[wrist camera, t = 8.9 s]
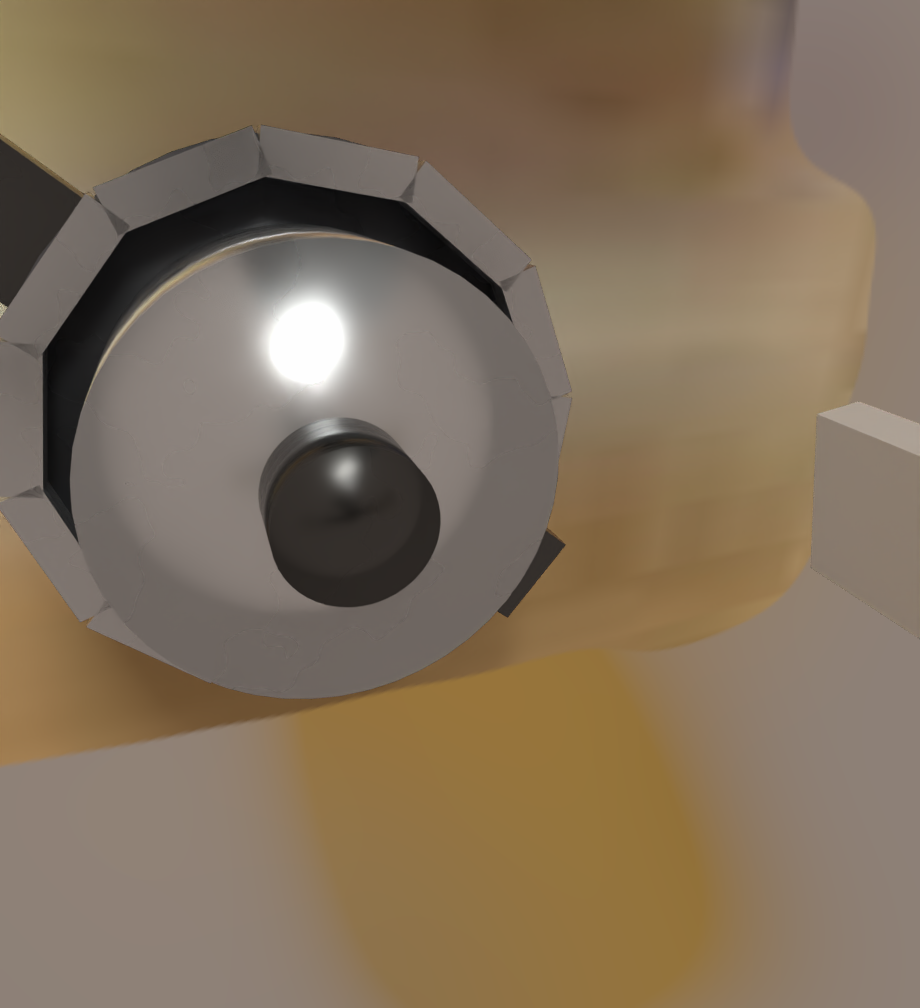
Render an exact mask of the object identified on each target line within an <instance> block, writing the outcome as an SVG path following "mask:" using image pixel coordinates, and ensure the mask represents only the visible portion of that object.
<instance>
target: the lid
mask: <svg viewBox="0 0 920 1008" xmlns="http://www.w3.org/2000/svg"><path fill="white" fill-rule="evenodd" d="M558 459H559V445H558V435H557V424H556V418H555V414H554V409H553V405H552V401H551V397H550V393H549V390H548V387H547V385H546V382H545V379H544V377H543V374H542V372H541V369H540V366H539V365H538V363H537V361H536V359H535V357H534V355H533V354H532V352H531V350H530V348H529V346H528V345H527V343H526V341H525V340H524V338H523V337H522V336H521V334H520V333H519V332H518V330H517V329H516V327H515V326H514V325H513V323H512V322H511V321H510V319H509V318H508V317H507V316H506V315H505V314H504V313H503V312H502V311H501V310H500V309H499V308H498V307H497V306H496V305H495V304H494V303H493V302H492V301H491V300H490V299H489V298H488V297H487V296H486V295H485V294H484V293H482V292H481V291H480V290H478V289H477V288H476V287H474V286H473V285H472V284H471V283H469V282H468V281H467V280H465V279H464V278H463V277H461V276H459V275H458V274H456V273H454V272H452V271H450V270H449V269H447V268H445V267H443V266H442V265H440V264H438V263H436V262H434V261H432V260H430V259H427V258H424V257H422V256H419V255H417V254H414V253H412V252H409V251H406V250H404V249H401V248H398V247H395V246H392V245H389V244H386V243H383V242H380V241H377V240H374V239H371V238H368V237H365V236H362V235H359V234H356V233H353V232H349V231H345V230H341V229H336V228H332V227H328V226H319V225H309V224H276V225H266V226H260V227H255V228H249V229H244V230H240V231H237V232H234V233H231V234H228V235H225V236H222V237H219V238H215V239H213V240H211V241H209V242H207V243H205V244H203V245H201V246H199V247H197V248H195V249H193V250H191V251H189V252H187V253H185V254H184V255H183V256H181V257H180V258H178V259H177V260H175V261H174V262H172V263H171V264H169V265H168V266H166V267H165V268H164V269H163V270H161V271H160V272H159V273H158V274H157V275H156V276H155V277H154V278H153V279H152V280H151V281H149V282H148V283H147V284H146V285H145V286H144V287H143V288H142V289H141V290H140V292H139V293H138V294H137V295H136V296H135V298H134V299H133V300H132V301H131V303H130V304H129V305H128V306H127V307H126V309H125V310H124V312H123V313H122V315H121V317H120V318H119V320H118V322H117V323H116V325H115V327H114V328H113V330H112V332H111V333H110V335H109V338H108V340H107V343H106V345H105V347H104V350H103V352H102V355H101V357H100V360H99V362H98V365H97V368H96V371H95V374H94V376H93V379H92V382H91V385H90V388H89V391H88V394H87V396H86V399H85V402H84V405H83V408H82V411H81V414H80V418H79V422H78V426H77V430H76V434H75V438H74V443H73V447H72V459H71V471H70V492H71V506H72V515H73V520H74V524H75V529H76V533H77V537H78V542H79V545H80V548H81V551H82V553H83V556H84V558H85V561H86V563H87V566H88V568H89V571H90V573H91V575H92V577H93V579H94V580H95V582H96V584H97V586H98V587H99V589H100V591H101V593H102V594H103V596H104V598H105V599H106V601H107V602H108V604H109V605H110V606H111V607H112V609H113V610H114V611H115V612H116V614H117V615H118V616H119V618H120V619H121V620H122V621H123V623H124V624H125V625H126V626H127V627H128V628H129V629H130V630H131V631H132V632H133V633H134V634H135V635H137V636H138V637H139V638H140V639H141V640H142V641H143V642H144V643H145V644H146V645H147V646H148V647H150V648H151V649H153V650H154V651H155V652H157V653H158V654H160V655H161V656H162V657H164V658H165V659H166V660H168V661H169V662H171V663H172V664H174V665H176V666H178V667H180V668H181V669H183V670H185V671H187V672H189V673H191V674H193V675H195V676H196V677H198V678H201V679H204V680H206V681H209V682H212V683H214V684H217V685H219V686H222V687H225V688H228V689H232V690H236V691H240V692H244V693H248V694H253V695H259V696H267V697H275V698H283V699H315V698H325V697H335V696H343V695H348V694H352V693H357V692H362V691H366V690H370V689H373V688H376V687H380V686H383V685H386V684H389V683H392V682H395V681H397V680H400V679H402V678H404V677H406V676H408V675H411V674H413V673H415V672H417V671H420V670H422V669H423V668H425V667H427V666H429V665H430V664H432V663H434V662H436V661H437V660H439V659H441V658H442V657H444V656H446V655H447V654H449V653H450V652H451V651H453V650H454V649H455V648H457V647H458V646H460V645H461V644H462V643H464V642H465V641H466V640H468V639H469V638H470V637H471V636H472V635H473V634H474V633H476V632H477V631H478V630H479V629H480V628H481V627H482V626H483V625H484V624H485V623H487V622H488V621H489V620H490V619H491V617H492V616H493V615H494V614H495V613H496V612H497V611H498V610H499V608H500V607H501V606H502V605H503V604H504V603H505V602H506V601H507V599H508V598H509V596H510V595H511V594H512V592H513V591H514V589H515V588H516V587H517V585H518V584H519V582H520V581H521V580H522V578H523V576H524V575H525V573H526V571H527V569H528V567H529V566H530V564H531V562H532V560H533V558H534V557H535V555H536V553H537V550H538V548H539V545H540V543H541V541H542V538H543V536H544V533H545V531H546V528H547V525H548V521H549V518H550V514H551V511H552V507H553V504H554V498H555V492H556V485H557V479H558Z"/></svg>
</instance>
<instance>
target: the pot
mask: <svg viewBox="0 0 920 1008" xmlns="http://www.w3.org/2000/svg"><path fill="white" fill-rule="evenodd" d="M418 159H419V157H417V156H412V155H408V154H403V153H398V152H393V151H388V150H383V149H378V148H373V147H368V146H365V145H361V144H358V143H354V142H350V141H347V140H343V139H340V138H335V137H328V136H320V135H313V134H305V133H299V132H295V131H290V130H285V129H280V128H275V127H270V126H265V125H259V126H257V133H255V132H254V129H253V127H252V125H251V126H249V127H246V128H244V129H241V130H239V131H236V132H234V133H231V134H228V135H226V136H223V137H221V138H216V139H211V140H208V141H204V142H201V143H198V144H195V145H191V146H188V147H185V148H182V149H178V150H175V151H172V152H170V153H167V154H165V155H163V156H161V157H159V158H157V159H155V160H153V161H151V162H149V163H146V164H144V165H142V166H140V167H138V168H136V169H134V170H132V171H130V172H129V173H127V174H126V175H123V176H121V177H118V178H116V179H113V180H111V181H108V182H105V183H103V184H100V185H98V186H95V187H93V189H94V191H95V193H96V195H95V196H93V195H92V194H90V193H89V192H88V193H85V194H83V193H82V192H80V191H79V190H78V189H76V188H75V187H73V186H72V185H71V184H69V183H68V182H67V181H65V180H64V179H62V178H61V177H60V176H58V175H57V174H55V173H54V172H53V171H51V170H50V169H48V168H47V167H46V166H44V165H43V164H42V163H40V162H39V161H37V160H36V159H35V158H33V157H32V156H30V155H29V154H28V153H26V152H25V151H24V150H22V149H21V148H19V147H18V146H17V145H15V144H14V143H12V142H11V141H10V140H8V139H7V138H5V137H4V136H3V135H1V134H0V302H1V303H2V304H4V305H5V306H7V307H8V308H7V310H6V311H5V313H4V314H3V315H2V317H1V318H0V511H1V512H2V513H3V515H4V516H5V518H6V519H7V520H8V522H9V523H10V525H11V526H12V527H13V529H14V530H15V532H16V533H17V534H18V536H19V537H20V539H21V540H22V541H23V543H24V544H25V546H26V547H27V548H28V550H29V551H30V553H31V554H32V555H33V557H34V558H35V560H36V561H37V562H38V564H39V565H40V567H41V568H42V569H43V571H44V572H45V574H46V575H47V576H48V578H49V579H50V581H51V582H52V583H53V585H54V586H55V588H56V589H57V590H58V592H59V593H60V595H61V596H62V598H63V599H64V600H65V602H66V603H67V605H68V606H69V607H70V609H71V610H72V612H73V613H74V614H75V616H76V617H77V619H78V620H79V621H80V622H82V621H84V620H86V619H88V620H87V626H86V627H87V628H89V629H91V630H94V631H96V632H98V633H100V634H102V635H105V636H107V637H109V638H111V639H114V640H116V641H118V642H120V643H122V644H125V645H127V646H129V647H131V648H133V649H136V650H138V651H140V652H142V653H144V654H147V655H149V656H151V657H153V658H155V659H158V660H160V661H162V662H164V663H166V664H169V665H171V666H173V667H175V668H177V669H180V670H182V671H184V672H186V673H188V674H191V673H189V672H187V671H185V670H183V669H181V668H180V667H178V666H176V665H174V664H172V663H171V662H169V661H168V660H166V659H165V658H164V657H162V656H161V655H160V654H158V653H157V652H155V651H154V650H153V649H151V648H150V647H148V646H147V645H146V644H145V643H144V642H143V641H142V640H141V639H140V638H139V637H138V636H137V635H135V634H134V633H133V632H132V631H131V630H130V629H129V628H128V627H127V626H126V625H125V624H124V623H123V621H122V620H121V619H120V618H119V616H118V615H117V614H116V612H115V611H114V610H113V609H112V607H111V606H110V605H109V604H108V602H107V601H106V599H105V598H104V596H103V594H102V593H101V591H100V589H99V587H98V586H97V584H96V582H95V580H94V579H93V577H92V575H91V573H90V571H89V568H88V566H87V563H86V561H85V558H84V556H83V553H82V551H81V548H80V545H79V542H78V537H77V533H76V529H75V524H74V520H73V515H72V506H71V492H70V471H71V459H72V447H73V443H74V438H75V434H76V430H77V426H78V422H79V418H80V414H81V411H82V408H83V405H84V402H85V399H86V396H87V394H88V391H89V388H90V385H91V382H92V379H93V376H94V374H95V371H96V368H97V365H98V362H99V360H100V357H101V355H102V352H103V350H104V347H105V345H106V343H107V340H108V338H109V335H110V333H111V332H112V330H113V328H114V327H115V325H116V323H117V322H118V320H119V318H120V317H121V315H122V313H123V312H124V310H125V309H126V307H127V306H128V305H129V304H130V303H131V301H132V300H133V299H134V298H135V296H136V295H137V294H138V293H139V292H140V290H141V289H142V288H143V287H144V286H145V285H146V284H147V283H148V282H149V281H151V280H152V279H153V278H154V277H155V276H156V275H157V274H158V273H159V272H160V271H161V270H163V269H164V268H165V267H166V266H168V265H169V264H171V263H172V262H174V261H175V260H177V259H178V258H180V257H181V256H183V255H184V254H185V253H187V252H189V251H191V250H193V249H195V248H197V247H199V246H201V245H203V244H205V243H207V242H209V241H211V240H213V239H215V238H219V237H222V236H225V235H228V234H231V233H234V232H237V231H240V230H244V229H249V228H255V227H260V226H266V225H276V224H309V225H319V226H328V227H332V228H336V229H341V230H345V231H349V232H353V233H356V234H359V235H362V236H365V237H368V238H371V239H374V240H377V241H380V242H383V243H386V244H389V245H392V246H395V247H398V248H401V249H404V250H406V251H409V252H412V253H414V254H417V255H419V256H422V257H424V258H427V259H430V260H432V261H434V262H436V263H438V264H440V265H442V266H443V267H445V268H447V269H449V270H450V271H452V272H454V273H456V274H458V275H459V276H461V277H463V278H464V279H465V280H467V281H468V282H469V283H471V284H472V285H473V286H474V287H476V288H477V289H478V290H480V291H481V292H482V293H484V294H485V295H486V296H487V297H488V298H489V299H490V300H491V301H492V302H493V303H494V304H495V305H496V306H497V307H498V308H499V309H500V310H501V311H502V312H503V313H504V314H505V315H506V316H507V317H508V318H509V319H510V321H511V322H512V323H513V325H514V326H515V327H516V329H517V330H518V332H519V333H520V334H521V336H522V337H523V338H524V340H525V341H526V343H527V345H528V346H529V348H530V350H531V352H532V354H533V355H534V357H535V359H536V361H537V363H538V365H539V366H540V369H541V372H542V374H543V377H544V379H545V382H546V385H547V387H548V390H549V393H550V397H551V401H552V405H553V409H554V414H555V418H556V424H557V435H558V445H559V456H560V452H561V447H562V443H563V438H564V433H565V429H566V424H567V419H568V415H569V410H570V405H571V401H572V398H571V397H569V396H568V395H566V394H567V393H569V392H571V391H572V390H571V386H570V383H569V379H568V376H567V373H566V369H565V366H564V362H563V359H562V355H561V352H560V349H559V345H558V342H557V338H556V335H555V332H554V328H553V325H552V321H551V318H550V314H549V311H548V308H547V304H546V301H545V297H544V294H543V290H542V287H541V284H540V280H539V277H538V273H537V270H536V267H535V266H533V265H529V262H530V261H531V259H530V258H529V257H528V256H527V255H526V254H525V253H524V252H523V251H522V250H521V249H520V248H519V247H517V246H516V245H515V244H514V243H513V242H512V241H511V240H510V239H509V238H508V237H507V236H506V235H505V234H504V233H503V232H502V231H500V230H499V229H498V228H497V227H496V226H495V225H494V224H493V223H492V222H491V221H490V220H489V219H488V218H487V217H486V216H484V215H483V214H482V213H481V212H480V211H479V210H478V209H477V208H476V207H475V206H474V205H473V204H472V203H471V202H470V201H469V200H467V199H466V198H465V197H464V196H463V195H462V194H461V193H460V192H459V191H458V190H457V189H456V188H455V187H454V186H453V185H452V184H450V183H449V182H448V181H447V180H446V179H445V178H444V177H443V176H442V175H441V174H440V173H439V172H438V171H437V170H436V169H434V168H433V167H432V166H431V165H430V164H429V163H428V162H427V161H418ZM558 461H559V459H558ZM565 545H566V544H564V543H563V542H562V541H561V540H560V539H559V538H558V537H557V536H556V535H555V534H554V533H553V532H552V531H551V530H550V529H548V528H546V531H545V533H544V536H543V538H542V541H541V543H540V545H539V548H538V550H537V553H536V555H535V557H534V558H533V560H532V562H531V564H530V566H529V567H528V569H527V571H526V573H525V575H524V576H523V578H522V580H521V581H520V582H519V584H518V585H517V587H516V588H515V589H514V591H513V592H512V594H511V595H510V596H509V598H508V599H507V601H506V602H505V603H504V604H503V605H502V606H501V607H500V608H499V610H498V612H499V613H501V614H502V615H504V616H506V617H507V618H508V616H509V615H510V614H511V613H512V611H513V610H514V609H515V608H516V606H517V605H518V604H519V603H520V601H521V600H522V599H523V598H524V596H525V595H526V594H527V593H528V591H529V590H530V589H531V588H532V586H533V585H534V584H535V583H536V581H537V580H538V579H539V578H540V576H541V575H542V574H543V573H544V571H545V570H546V569H547V568H548V566H549V565H550V564H551V563H552V561H553V560H554V559H555V558H556V556H557V555H558V554H559V553H560V551H561V550H562V549H563V548H564V546H565ZM191 675H193V674H191ZM193 676H195V675H193ZM195 677H196V676H195ZM197 678H198V677H197ZM199 679H201V678H199ZM202 680H204V679H202ZM204 681H206V680H204ZM206 682H208V683H210V684H211V682H209V681H206Z"/></svg>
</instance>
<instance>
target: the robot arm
mask: <svg viewBox="0 0 920 1008" xmlns="http://www.w3.org/2000/svg"><path fill="white" fill-rule="evenodd" d="M811 568H812V569H813V570H815V571H816V572H818V573H819V574H821V575H823V576H824V577H826V578H827V579H829V580H830V581H832V582H833V583H835V584H836V585H838V586H839V587H841V588H842V589H844V590H845V591H847V592H849V593H850V594H852V595H853V596H855V597H856V598H858V599H859V600H861V601H862V602H864V603H865V604H867V605H868V606H870V607H871V608H873V609H875V610H876V611H878V612H879V613H881V614H882V615H884V616H885V617H887V618H888V619H890V620H891V621H893V622H894V623H896V624H898V625H899V626H901V627H902V628H904V629H905V630H907V631H908V632H910V633H911V634H913V635H914V636H916V637H917V638H919V639H920V424H919V423H916V422H914V421H911V420H908V419H905V418H903V417H900V416H897V415H894V414H892V413H889V412H886V411H884V410H881V409H878V408H875V407H873V406H870V405H867V404H864V403H862V402H856V403H852V404H849V405H845V406H842V407H839V408H835V409H832V410H829V411H825V412H822V413H819V414H817V423H816V448H815V472H814V497H813V521H812V546H811Z"/></svg>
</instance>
